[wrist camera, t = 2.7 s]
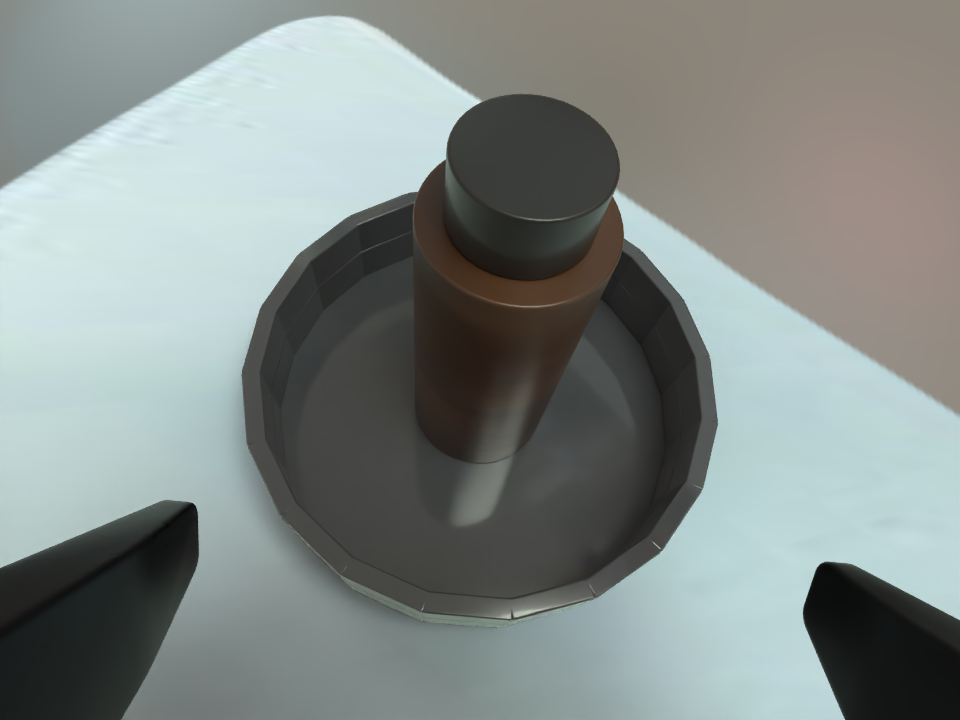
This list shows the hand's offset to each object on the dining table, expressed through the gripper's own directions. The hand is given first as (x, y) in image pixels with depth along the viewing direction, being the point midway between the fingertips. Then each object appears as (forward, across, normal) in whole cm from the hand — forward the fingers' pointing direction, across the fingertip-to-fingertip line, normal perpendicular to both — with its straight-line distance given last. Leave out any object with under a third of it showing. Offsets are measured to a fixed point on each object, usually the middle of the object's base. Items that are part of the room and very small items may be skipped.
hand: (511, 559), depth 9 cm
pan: (+15, 0, +4) cm, 16 cm away
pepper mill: (+15, 0, +3) cm, 15 cm away
